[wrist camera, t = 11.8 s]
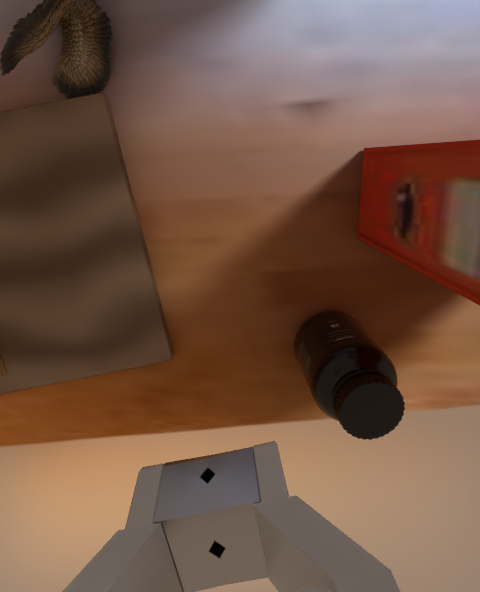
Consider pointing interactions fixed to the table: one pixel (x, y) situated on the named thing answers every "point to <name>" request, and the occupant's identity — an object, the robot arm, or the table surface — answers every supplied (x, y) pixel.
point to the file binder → (425, 210)
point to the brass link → (2, 369)
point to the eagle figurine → (66, 44)
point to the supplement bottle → (349, 375)
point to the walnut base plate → (71, 250)
